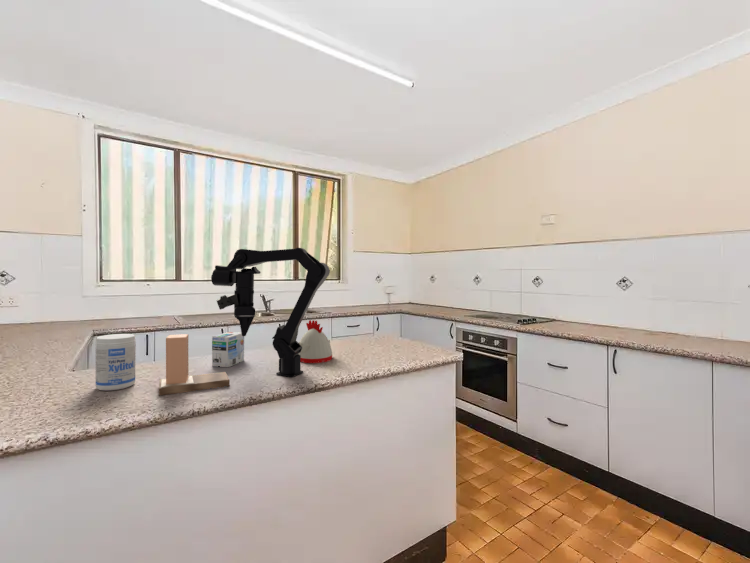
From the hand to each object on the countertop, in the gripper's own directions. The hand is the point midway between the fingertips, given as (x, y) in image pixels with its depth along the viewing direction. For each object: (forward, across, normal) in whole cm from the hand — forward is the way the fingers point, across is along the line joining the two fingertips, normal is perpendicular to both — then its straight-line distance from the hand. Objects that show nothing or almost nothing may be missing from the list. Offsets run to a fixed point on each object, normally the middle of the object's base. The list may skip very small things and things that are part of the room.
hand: (243, 333), depth 123 cm
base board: (+13, +12, -13) cm, 22 cm away
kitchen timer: (+13, -11, +27) cm, 31 cm away
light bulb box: (+14, -13, -4) cm, 19 cm away
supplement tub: (+14, +5, -35) cm, 38 cm away
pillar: (+11, +12, -18) cm, 24 cm away
